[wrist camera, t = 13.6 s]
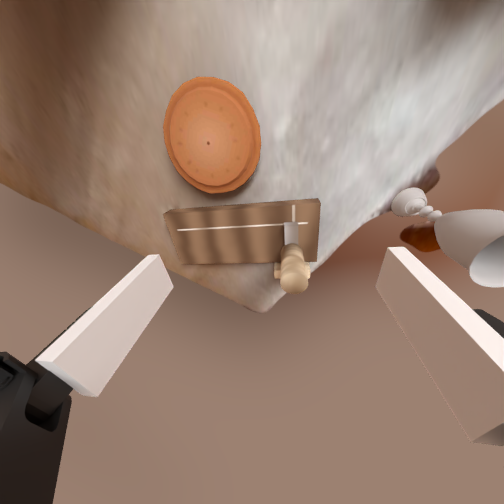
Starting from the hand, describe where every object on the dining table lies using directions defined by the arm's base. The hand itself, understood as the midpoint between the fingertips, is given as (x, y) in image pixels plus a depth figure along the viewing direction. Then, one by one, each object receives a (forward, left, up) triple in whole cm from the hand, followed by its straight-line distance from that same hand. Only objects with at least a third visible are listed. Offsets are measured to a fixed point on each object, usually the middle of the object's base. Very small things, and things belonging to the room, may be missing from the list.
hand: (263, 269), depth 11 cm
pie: (-12, -4, -27) cm, 30 cm away
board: (+3, -12, -27) cm, 29 cm away
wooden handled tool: (+11, -5, -26) cm, 29 cm away
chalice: (+17, +15, -27) cm, 36 cm away
